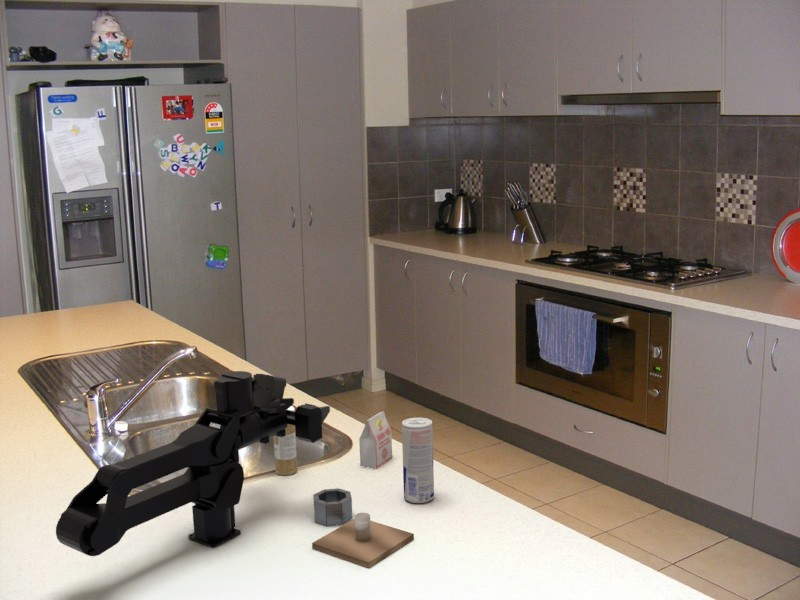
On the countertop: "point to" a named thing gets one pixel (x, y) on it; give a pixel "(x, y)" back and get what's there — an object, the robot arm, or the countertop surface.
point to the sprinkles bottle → (286, 451)
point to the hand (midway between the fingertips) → (310, 404)
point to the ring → (332, 507)
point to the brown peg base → (363, 541)
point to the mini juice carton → (375, 442)
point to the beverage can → (418, 460)
